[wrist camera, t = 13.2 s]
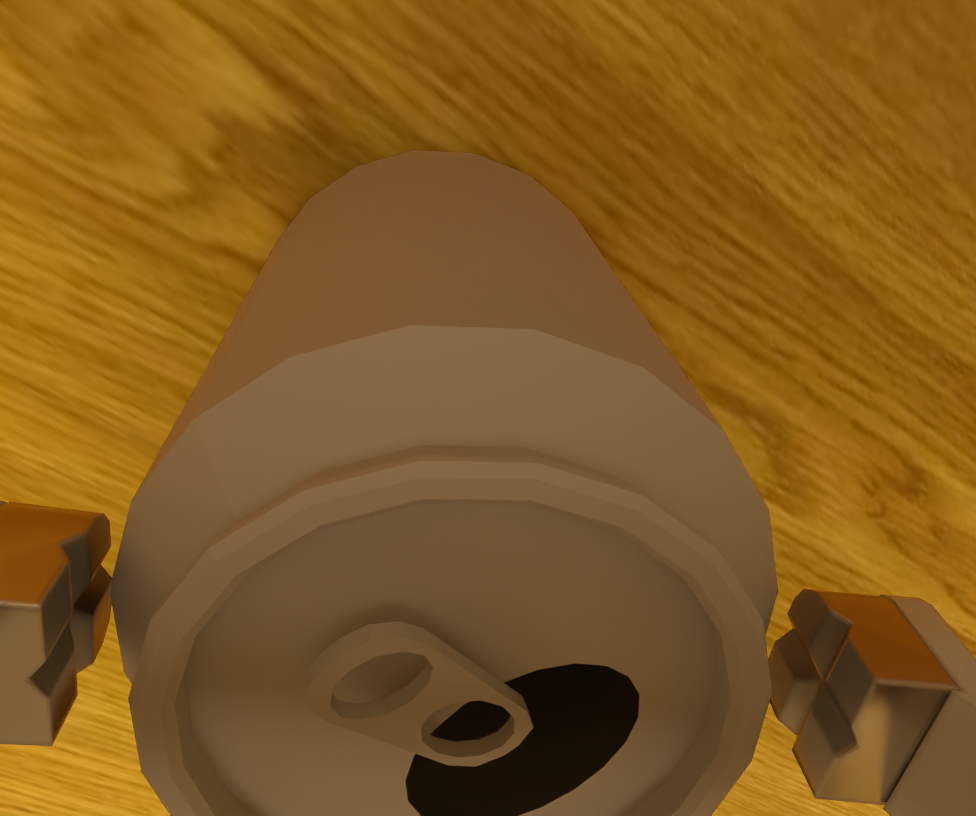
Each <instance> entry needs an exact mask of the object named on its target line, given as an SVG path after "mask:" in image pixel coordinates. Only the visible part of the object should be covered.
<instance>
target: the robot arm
mask: <svg viewBox="0 0 976 816" xmlns="http://www.w3.org/2000/svg"><path fill="white" fill-rule="evenodd" d="M110 547H111V537H110V523H109V520H108V518H107V517H106V516H105V515H104V514H102V513H94V512H86V511H78V510H70V509H63V508H55V507H47V506H39V505H31V504H23V503H15V502H9V503H7V502H4V501H0V744H16V745H40V746H52V745H53V743H54V741H55V739H56V737H57V735H58V733H59V731H60V729H61V727H62V725H63V723H64V721H65V719H66V717H67V715H68V713H69V711H70V709H71V707H72V705H73V703H74V701H75V699H76V697H77V673H78V672H80V671H81V670H83V669H85V668H86V667H88V666H89V665H91V664H93V663H94V661H95V658H96V656H97V654H98V652H99V650H100V648H101V646H102V643H103V640H104V637H105V633H106V630H107V626H108V623H109V619H110V614H111V605H112V601H111V595H110V585H111V581H112V577H111V576H110V575H109V574H108V573H107V572H106V570H105V569H104V568H103V567H102V566H101V563H102V561H103V559H104V558H105V556H106V554H107V552H108V550H109V549H110ZM788 617H789V620H790V622H791V625H792V628H793V629H792V630H791V631H789V632H788V633H787V634H785V635H784V636H782V637H781V638H780V639H778V640H777V641H776V642H775V644H774V646H773V649H772V651H771V654H770V657H769V659H768V664H769V672H770V680H771V688H772V694H771V698H770V704H771V706H772V708H773V710H774V713H775V715H776V717H777V719H778V720H779V721H780V722H781V723H783V724H784V725H785V726H786V727H787V728H789V729H790V730H791V731H792V732H793V733H794V734H796V735H797V736H796V740H795V743H794V746H793V749H792V751H793V753H794V755H795V757H796V759H797V761H798V763H799V765H800V767H801V770H802V772H803V774H804V776H805V778H806V780H807V782H808V784H809V786H810V788H811V790H812V792H813V794H814V796H815V798H817V799H827V800H837V801H848V802H858V803H868V804H878V805H885V806H884V808H883V809H884V810H885V811H886V812H887V813H888V814H889V815H890V816H976V658H975V657H974V656H973V655H972V653H971V652H970V651H969V650H968V649H967V647H966V646H965V645H964V644H963V642H962V641H961V640H960V639H959V638H958V636H957V635H956V634H955V633H954V631H953V630H952V629H951V628H950V627H949V625H948V624H947V623H946V622H945V620H944V619H943V618H942V617H941V616H940V614H939V613H938V612H937V611H936V609H935V608H934V607H933V606H932V605H931V604H929V603H927V602H926V601H924V600H922V599H920V598H914V597H901V596H888V595H880V596H872V595H862V594H852V593H842V592H832V591H822V590H812V589H803V590H802V591H801V592H800V593H799V594H798V595H797V596H796V597H795V598H794V601H793V603H792V605H791V607H790V609H789V612H788Z"/></svg>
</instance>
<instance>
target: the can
mask: <svg viewBox="0 0 976 816" xmlns="http://www.w3.org/2000/svg"><path fill="white" fill-rule="evenodd" d="M777 592H778V588H777V579H776V570H775V561H774V552H773V544H772V535H771V526H770V517H769V509H768V508H767V506H766V504H765V502H764V501H763V499H762V497H761V495H760V494H759V492H758V490H757V488H756V487H755V485H754V483H753V481H752V480H751V478H750V476H749V474H748V473H747V471H746V469H745V467H744V466H743V464H742V462H741V460H740V459H739V457H738V455H737V453H736V452H735V450H734V448H733V446H732V444H731V443H730V441H729V439H728V437H727V436H726V434H725V432H724V431H723V429H722V428H721V426H720V425H719V423H718V422H717V421H716V419H715V418H714V416H713V415H712V413H711V412H710V410H709V409H708V407H707V406H706V405H705V403H704V402H703V400H702V399H701V397H700V396H699V394H698V393H697V392H696V390H695V389H694V387H693V386H692V384H691V383H690V381H689V380H688V379H687V377H686V376H685V374H684V373H683V371H682V370H681V368H680V367H679V365H678V364H677V363H676V361H675V360H674V358H673V357H672V355H671V354H670V352H669V351H668V350H667V348H666V347H665V345H664V344H663V342H662V341H661V339H660V338H659V337H658V335H657V334H656V332H655V331H654V329H653V328H652V326H651V325H650V323H649V322H648V321H647V319H646V318H645V316H644V315H643V313H642V312H641V310H640V309H639V308H638V306H637V305H636V303H635V302H634V300H633V299H632V297H631V296H630V295H629V293H628V292H627V290H626V289H625V287H624V286H623V284H622V283H621V281H620V280H619V279H618V277H617V276H616V274H615V273H614V271H613V270H612V268H611V267H610V266H609V264H608V263H607V261H606V260H605V258H604V257H603V255H602V254H601V253H600V251H599V250H598V248H597V247H596V245H595V244H594V242H593V241H592V239H591V238H590V237H589V235H588V234H587V232H586V231H585V229H584V228H583V226H582V225H581V224H580V222H579V221H578V219H577V218H576V216H575V215H574V213H573V212H572V211H571V210H570V209H569V208H567V207H566V206H565V205H564V204H563V203H562V202H560V201H559V200H558V199H557V198H556V197H555V196H553V195H552V194H551V193H550V192H549V191H548V190H546V189H545V188H544V187H543V186H542V185H540V184H539V183H538V182H537V181H536V180H535V179H533V178H532V177H531V176H530V175H528V174H526V173H523V172H521V171H518V170H516V169H513V168H511V167H508V166H506V165H503V164H501V163H498V162H496V161H493V160H491V159H488V158H485V157H483V156H480V155H478V154H475V153H463V152H444V151H425V150H412V151H409V152H405V153H402V154H398V155H394V156H391V157H387V158H384V159H380V160H376V161H373V162H369V163H366V164H362V165H358V166H356V167H355V168H353V169H352V170H350V171H349V172H347V173H346V174H344V175H343V176H341V177H340V178H339V179H337V180H336V181H334V182H333V183H331V184H330V185H328V186H327V187H325V188H324V189H323V190H321V191H320V192H318V193H317V194H315V195H314V196H312V197H311V198H309V199H308V201H307V202H306V203H305V205H304V206H303V207H302V209H301V210H300V212H299V213H298V214H297V216H296V217H295V218H294V220H293V221H292V223H291V224H290V225H289V227H288V228H287V229H286V231H285V232H284V234H283V235H282V236H281V238H280V239H279V240H278V242H277V243H276V245H275V246H274V248H273V250H272V252H271V254H270V255H269V257H268V259H267V261H266V262H265V264H264V266H263V268H262V270H261V271H260V273H259V275H258V277H257V278H256V280H255V282H254V284H253V286H252V287H251V289H250V291H249V293H248V295H247V296H246V298H245V300H244V302H243V303H242V305H241V307H240V309H239V311H238V312H237V314H236V316H235V318H234V319H233V321H232V323H231V325H230V327H229V328H228V330H227V332H226V334H225V335H224V337H223V339H222V341H221V343H220V344H219V346H218V348H217V350H216V352H215V353H214V355H213V357H212V359H211V360H210V362H209V364H208V366H207V368H206V369H205V371H204V373H203V375H202V376H201V378H200V380H199V382H198V384H197V385H196V387H195V389H194V391H193V392H192V394H191V396H190V398H189V400H188V401H187V403H186V405H185V407H184V409H183V410H182V412H181V414H180V416H179V417H178V419H177V421H176V423H175V425H174V426H173V428H172V430H171V432H170V433H169V435H168V437H167V439H166V441H165V442H164V444H163V446H162V448H161V449H160V451H159V453H158V455H157V457H156V458H155V460H154V462H153V464H152V466H151V467H150V469H149V471H148V473H147V474H146V476H145V478H144V480H143V482H142V483H141V485H140V487H139V489H138V490H137V492H136V494H135V496H134V498H133V499H132V501H131V504H130V508H129V512H128V516H127V521H126V525H125V529H124V533H123V537H122V541H121V545H120V549H119V553H118V557H117V561H116V565H115V569H114V573H113V577H112V581H111V585H110V595H111V601H112V606H113V612H114V617H115V623H116V629H117V634H118V640H119V645H120V651H121V656H122V662H123V668H124V672H125V674H126V675H127V677H128V678H129V680H130V682H131V683H132V688H131V691H130V695H129V698H128V699H129V704H130V710H131V715H132V721H133V727H134V732H135V738H136V743H137V749H138V754H139V760H140V766H141V771H142V773H143V775H144V776H145V778H146V779H147V781H148V782H149V784H150V785H151V787H152V788H153V790H154V791H155V793H156V794H157V796H158V797H159V799H160V800H161V802H162V803H163V805H164V806H165V808H166V809H167V811H168V812H169V813H170V815H171V816H711V815H712V814H713V812H714V811H715V810H716V808H717V807H718V806H719V804H720V803H721V802H722V800H723V799H724V798H725V796H726V795H727V793H728V792H729V791H730V789H731V788H732V787H733V785H734V784H735V783H736V781H737V780H738V779H739V777H740V776H741V775H742V773H743V772H744V771H745V769H746V768H747V766H748V765H749V764H750V762H751V761H752V758H753V755H754V751H755V748H756V744H757V741H758V738H759V734H760V731H761V728H762V724H763V721H764V718H765V714H766V711H767V708H768V704H769V701H770V698H771V694H772V688H771V680H770V672H769V664H768V656H767V649H766V641H765V635H766V631H767V628H768V624H769V621H770V617H771V614H772V610H773V607H774V603H775V600H776V596H777Z"/></svg>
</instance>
